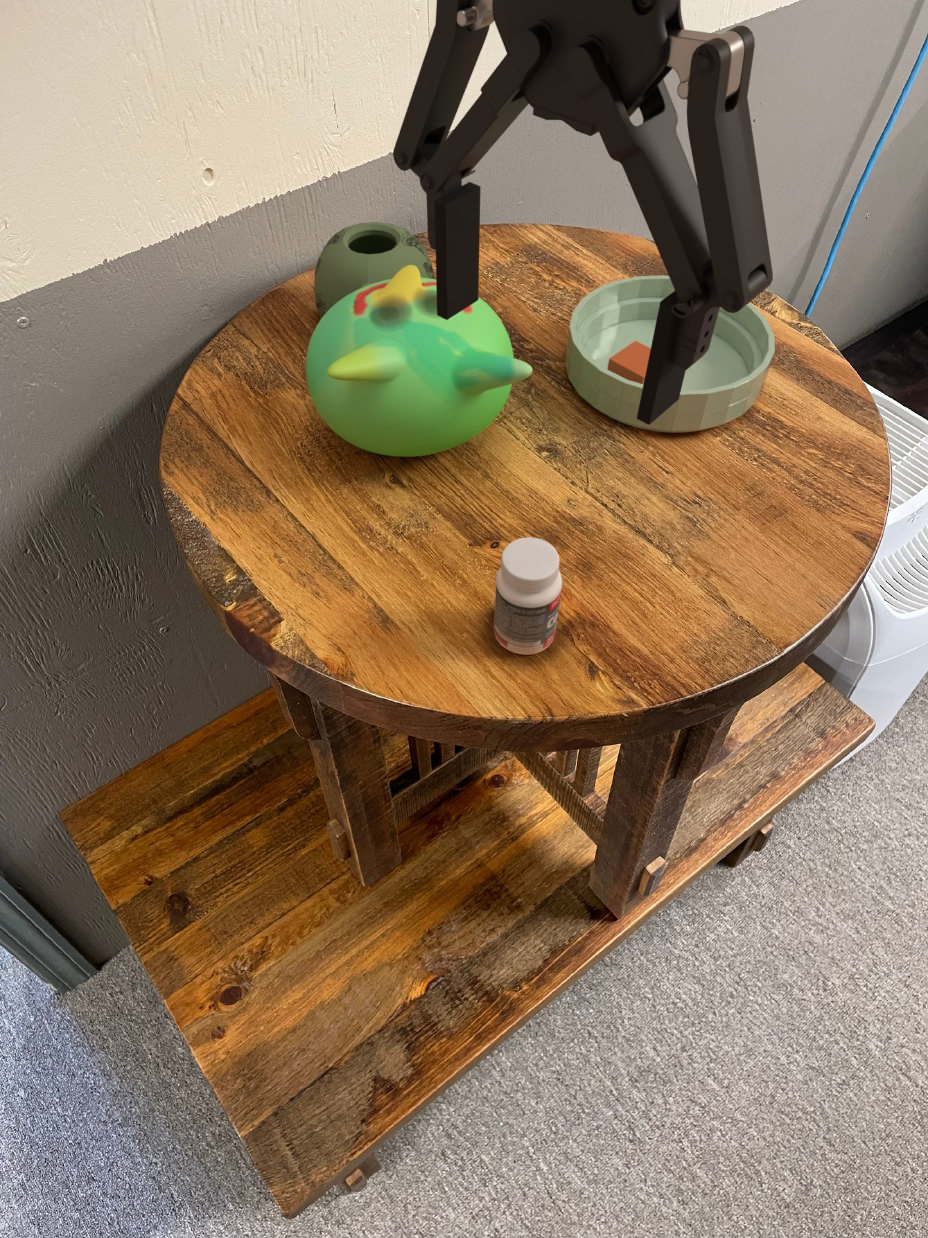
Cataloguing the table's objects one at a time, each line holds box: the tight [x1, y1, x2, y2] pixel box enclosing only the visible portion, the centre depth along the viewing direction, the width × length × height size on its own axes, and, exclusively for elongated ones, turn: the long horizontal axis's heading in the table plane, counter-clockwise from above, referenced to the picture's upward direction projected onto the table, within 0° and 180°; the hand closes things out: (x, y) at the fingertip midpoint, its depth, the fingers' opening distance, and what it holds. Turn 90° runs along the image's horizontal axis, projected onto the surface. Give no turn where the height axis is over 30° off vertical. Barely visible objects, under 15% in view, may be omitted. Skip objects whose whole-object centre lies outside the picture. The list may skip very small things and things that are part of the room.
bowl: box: [564, 274, 776, 434], centre depth 84 cm, size 19×19×5 cm
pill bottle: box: [493, 536, 563, 656], centre depth 63 cm, size 5×5×8 cm
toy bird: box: [305, 265, 533, 458], centre depth 74 cm, size 18×17×15 cm
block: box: [607, 341, 651, 384], centre depth 81 cm, size 4×4×4 cm
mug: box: [313, 221, 436, 320], centre depth 87 cm, size 16×13×9 cm
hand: (551, 356), depth 47 cm, fingers open, 13 cm apart
